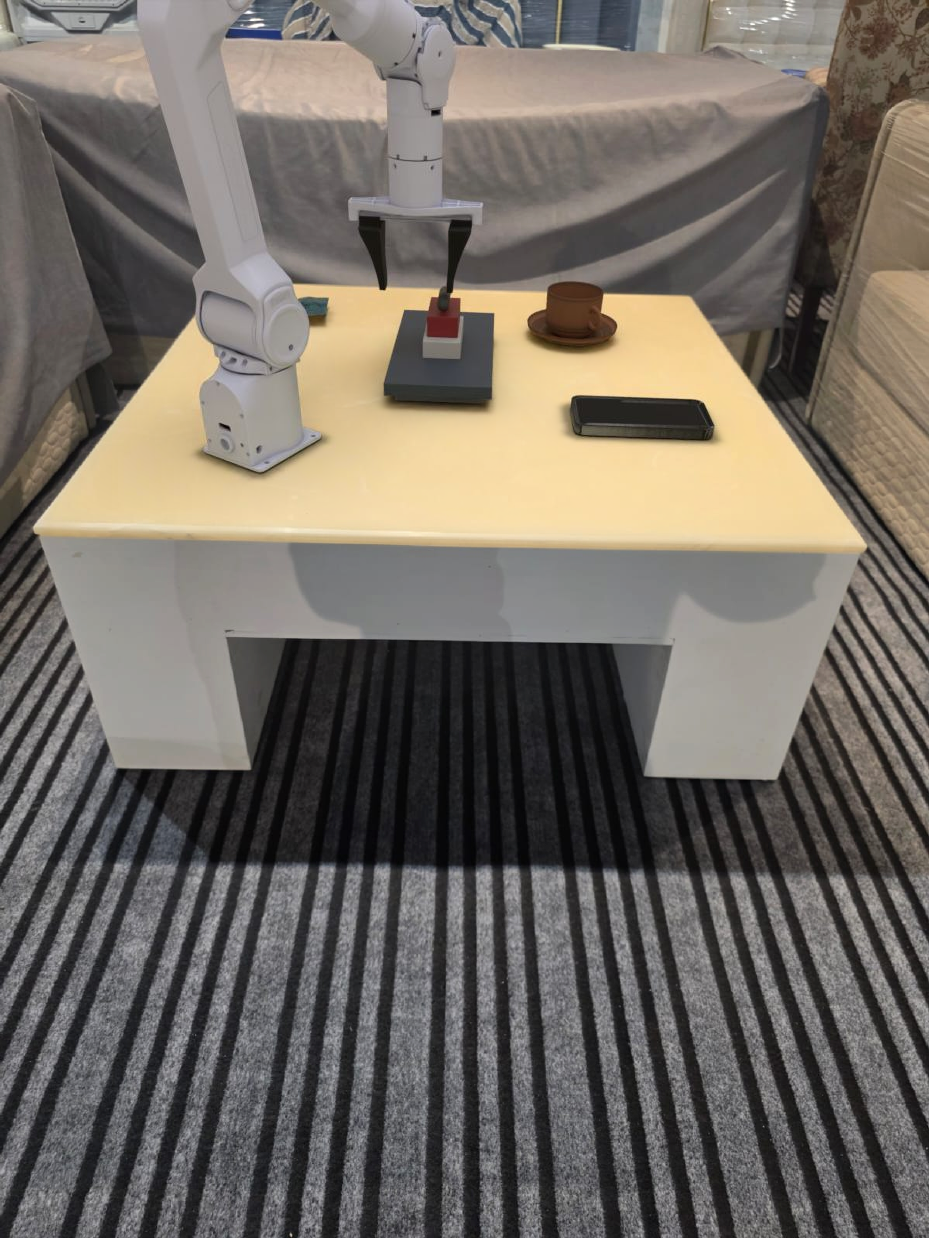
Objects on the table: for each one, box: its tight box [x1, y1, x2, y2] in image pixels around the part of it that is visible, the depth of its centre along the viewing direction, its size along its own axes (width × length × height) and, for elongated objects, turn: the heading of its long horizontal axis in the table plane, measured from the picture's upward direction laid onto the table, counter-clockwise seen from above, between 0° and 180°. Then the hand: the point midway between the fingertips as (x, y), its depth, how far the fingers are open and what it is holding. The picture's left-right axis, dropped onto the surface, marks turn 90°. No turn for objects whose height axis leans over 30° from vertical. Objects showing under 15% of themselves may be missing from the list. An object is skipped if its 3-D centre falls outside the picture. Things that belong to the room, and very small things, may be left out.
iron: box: [423, 285, 464, 359], centre depth 99 cm, size 9×4×6 cm, turn 178°
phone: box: [570, 394, 716, 440], centre depth 92 cm, size 8×1×15 cm
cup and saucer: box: [526, 280, 618, 347], centre depth 111 cm, size 12×12×6 cm
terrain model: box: [297, 296, 330, 317], centre depth 115 cm, size 13×8×2 cm, turn 97°
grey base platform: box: [383, 309, 495, 405], centre depth 102 cm, size 24×12×3 cm, turn 178°
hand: (416, 289), depth 96 cm, fingers open, 7 cm apart
